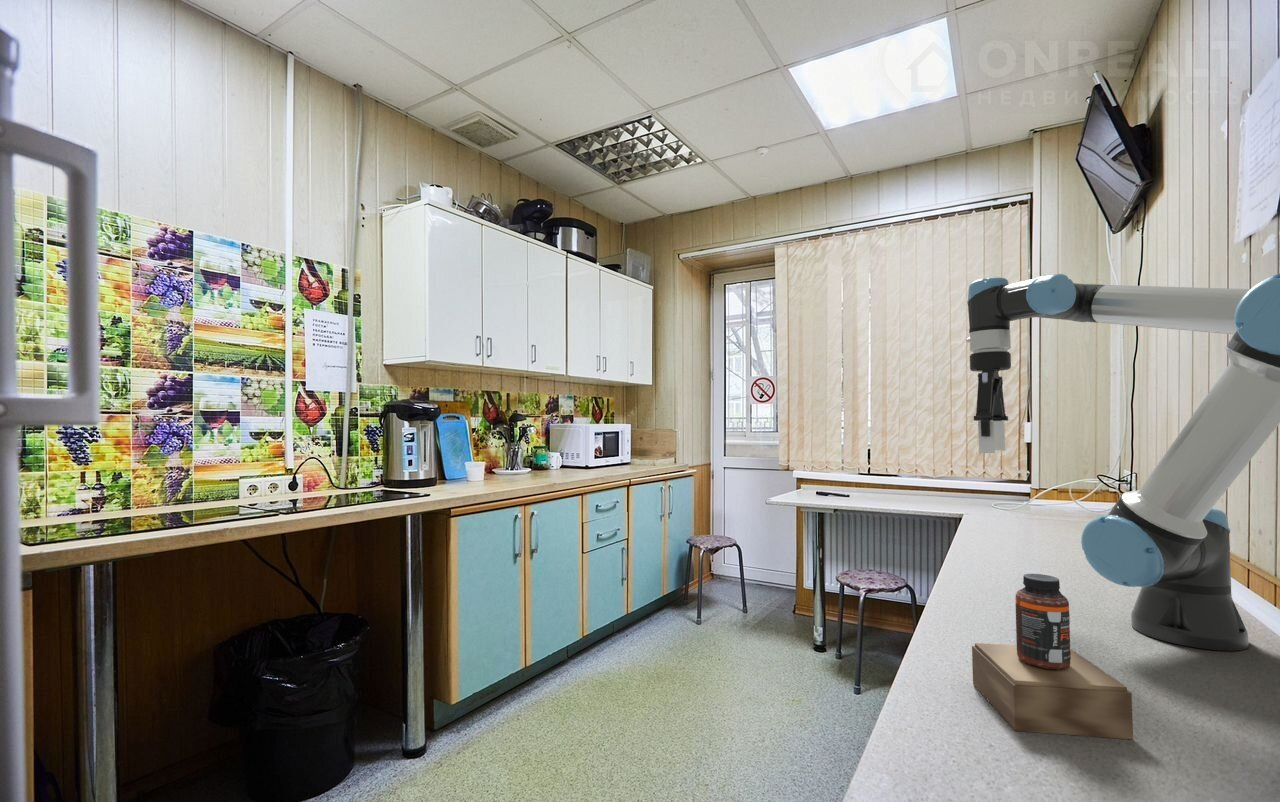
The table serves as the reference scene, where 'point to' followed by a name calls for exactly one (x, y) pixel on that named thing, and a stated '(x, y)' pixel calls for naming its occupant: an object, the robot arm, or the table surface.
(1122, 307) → the robot arm
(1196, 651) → the table surface
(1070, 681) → the block
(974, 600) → the table surface
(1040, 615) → the supplement bottle
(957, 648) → the table surface
